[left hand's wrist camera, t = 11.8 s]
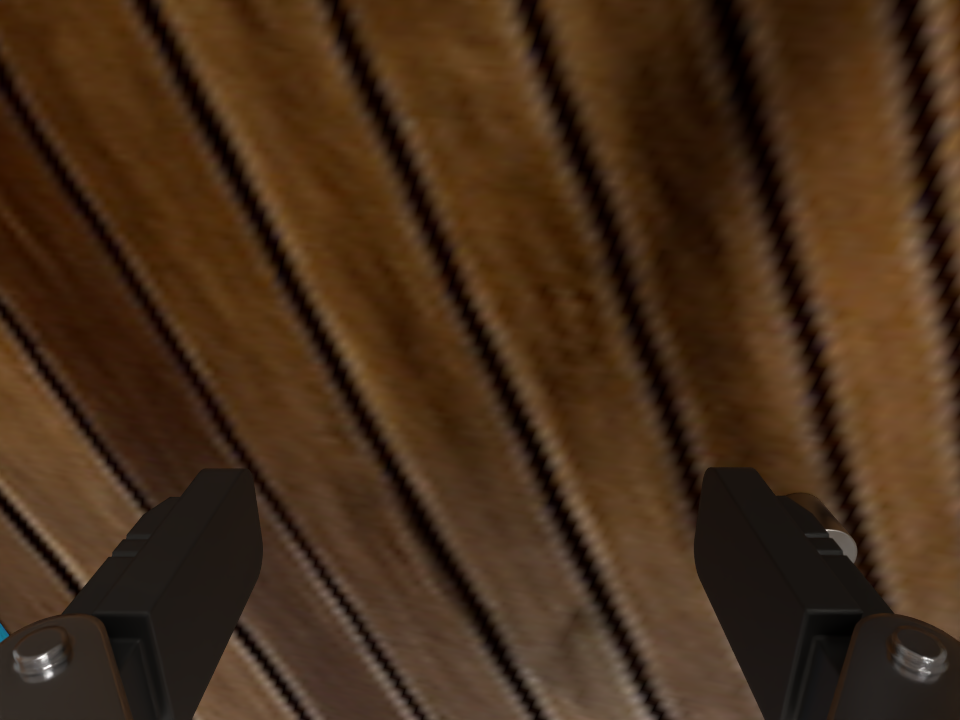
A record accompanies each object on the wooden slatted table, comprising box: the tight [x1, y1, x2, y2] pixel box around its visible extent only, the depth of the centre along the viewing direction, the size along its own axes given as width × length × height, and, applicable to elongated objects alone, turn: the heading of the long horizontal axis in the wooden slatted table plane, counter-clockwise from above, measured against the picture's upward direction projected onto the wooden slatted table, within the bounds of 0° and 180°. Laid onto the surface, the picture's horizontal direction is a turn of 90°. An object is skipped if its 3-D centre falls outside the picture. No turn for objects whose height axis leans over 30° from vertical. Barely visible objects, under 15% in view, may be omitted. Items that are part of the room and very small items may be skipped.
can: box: [787, 493, 857, 564], centre depth 41 cm, size 4×4×4 cm
